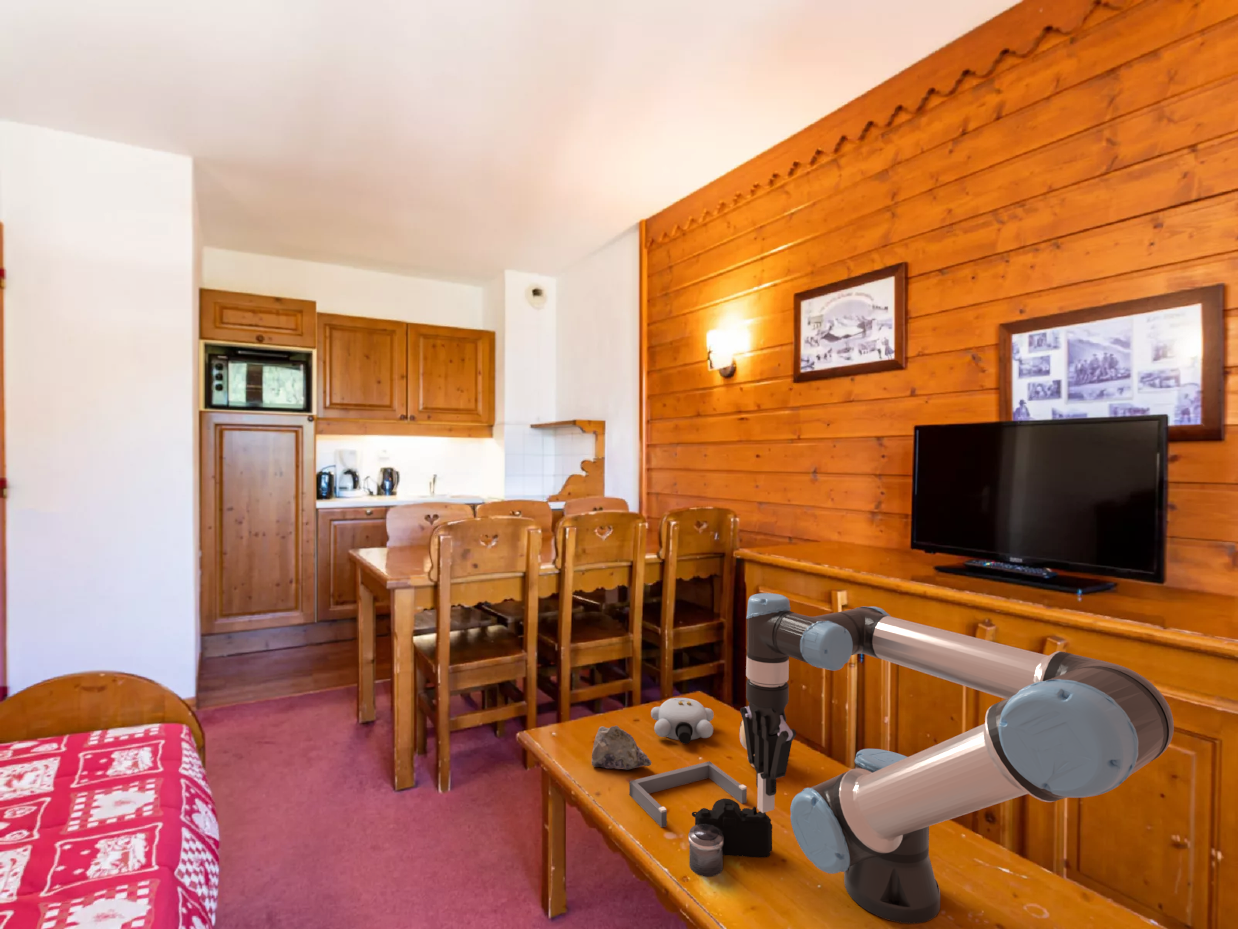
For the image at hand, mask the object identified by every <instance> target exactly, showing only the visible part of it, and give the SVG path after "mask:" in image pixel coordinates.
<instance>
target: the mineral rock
mask: <svg viewBox="0 0 1238 929" xmlns="http://www.w3.org/2000/svg"><path fill="white" fill-rule="evenodd" d="M594 737H595V738H594V742H593V746H592V747H593V748H592V753H591V766H593V767H595V768H596V767H600V768H604V769H615V770H627V771H629V770H632V769H635V768H636V769H638V768H640V767H650V766H651V765H652V763H653V762H652V760H650V758H649V757H648V755H647V754H646V753H645V752H643V750H642V749H641V748H640V747H639V746H638V745H637V742H636V740H635V739H634V737H633V736H632V735H631V734H629V733H628V732H627V731H625V730H624V729H622V728H620V727H619V726H618V725H614V726H612V725H611V726H610V727H606V726H599V727H598V730H597V732H596V735H595V736H594Z"/></svg>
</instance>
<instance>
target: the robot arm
mask: <svg viewBox="0 0 1238 929" xmlns="http://www.w3.org/2000/svg"><path fill="white" fill-rule="evenodd" d="M745 618H746V662H745V663H746V666H745V668H746V669H745V676H746V677H747V678H746V679H747V680H746V684H745V686H746V689H745V690H746V691H745V693H746V694H745V698H746V700H747V702H748V705H747V706H744V707H740V709H739V712H740V716H741V718H742V719H741V720H743V723H744V730H745V738H746V746H747V749H746V752H747V761H748V763H749V764H750V765H751V764H753V765H754V767H753V768H754V771H755V772H756V776H755V777H756V781H755V784H756V788H757V798H756V799H757V801H756V802H757V807H756V809H757V811H758V812H759V811H761V812H762V813H764V812H765V813H767V812H771V811H774V810H775V800H776V799H775V798H776V797H775V795H776V793H777V779H780V778H783V777H785V776H786V773H787V768H788V762H789V758H790V754H791V748H792V744H793V741H794V739H795V738H796V736H797V731H796V730H795V729H794V728H790V726H789V725H788V724H787V723H786V722H787V715H786V713H785V708H786V707H787V705H788V703H789V700H790V699H789V695H790V694H789V692H790V691H789V690H790V689H789V688H790V686H789V683H788V681H789V671H790V669H789V668H790V667H789V664H790V661H789V660H790V658H793V659H795V660H799V662H803V663H805V664H809V665H811V666H812V667H816V668H817V669H824V670H827V671H828V670H829V671H839V670H841V669H842V668H844V666H845V664H847V663H848V662H849V661H850V659H851V657H852V656H853V655H858V654H859V655H860V654H862V655H866V656H869V657H873V658H874V659H880V660H883V661H886V662H889V663H892V664H895V665H899V666H902V667H905V668H907V669H910V670H911V669H912V670H914V671H916V672H917V671H918V672H921V673H923V674H927V675H929V676H933V677H936V678H939V679H942V680H946V681H949V682H951V683H955V684H958V685H961V686H964V687H968V688H970V689H974V690H975V691H976V690H977V691H980V692H983V693H985V694H989V695H991V696H995V697H998V698H1002V700H1001V701H998V702H997V703H994V704H992V705H991V706H989V708H988V709H987V710H986V713H985V717H984V721H985V722H984V723H983V724H981V725H978V726H976V727H973V728H972V729H971V728H970V729H969V730H968V731H965V732H962V733H960V734H958V735H956V736H953V737H950V738H949V739H946V740H944V741H941V742H940V743H938V744H934V745H933V746H930V747H928V748H926V749H924V750H923V749H922V750H921V751H919V752H917V753H914V754H912V755H910V756H906V755H904V754H901V753H897V752H893V751H889V750H886V749H880V748H863V749H860V750H859V751H857V752H856V754H855V758H854V763H855V768H851V769H850V770H848V771H845V772H843V773H841V774H839V775H837V776H835V777H832V778H830V779H828V780H826V781H823V782H821V783H819V784H817V785H813V786H811V787H805V788H803V789H802V791H800V792H798V793H797V794H795V796H794V797H793V799H792V801H791V805H790V808H789V809H790V810H789V811H790V824H791V827H792V832H793V834H794V837H795V839H796V842H797V844H798V846H799V847H800V849H801V851H802V852H803V853H804V854H803V855H805V857H806V858H807V860H809V861H810V862H811V863H812V864H813V865H814V866H815V868H817V869H818V870H820V871H822V872H824V873H827V874H830V875H831V874H833V875H834V874H838V873H840V872H842V873H844V876H843V877H844V878H843V880H844V881H843V883H844V886H845V890H846V892H847V894H848V895H849V896H850V898H852V900H853V901H854V902H855V903H856V904H858V905H859V906H860V907H861V908H862V909H864V910H866V911H867V912H869V913H871V914H873V915H875V916H877V917H879V918H882V919H884V920H888V921H891V922H895V923H900V924H901V923H902V924H920V923H926V922H928V921H931V920H932V919H934V918H935V917H936V916H938V913H939V912H940V909H941V889H940V887H939V886H940V885H939V883H938V882H937V880H936V877H935V873H934V869H933V865H932V862H931V859H930V849H929V847H930V826H933V825H937V824H940V823H943V822H945V821H949V820H952V819H956V818H958V817H961V816H964V815H968V814H971V813H973V812H976V811H980V810H982V809H985V808H989V807H991V806H994V805H997V804H1000V803H1004V802H1006V801H1009V800H1010V801H1011V800H1013V799H1015V798H1016V799H1017V798H1019V797H1022V796H1025V795H1030V796H1031V797H1032V798H1035V799H1036V800H1039V801H1041V802H1046V803H1052V802H1057V801H1060V800H1063V799H1067V798H1072V799H1073V798H1074V799H1075V798H1076V799H1077V798H1078V799H1079V798H1080V799H1081V798H1088V797H1095V796H1099V795H1103V794H1105V793H1108V792H1110V791H1112V790H1114V789H1116V788H1118V787H1119V786H1120V785H1121V784H1122V783H1124V781H1126V780H1127V779H1128V778H1129V777H1130V776H1132V774H1134V773H1136V772H1138V771H1139V770H1140V769H1142V768H1143V767H1144V766H1147V765H1148V764H1149V763H1151V762H1153V761H1154V760H1156V759H1158V758H1159V757H1160V756H1162V755H1163V753H1165V751H1167V749H1168V748H1169V746H1170V744H1171V742H1172V740H1173V736H1174V731H1175V730H1174V729H1175V728H1174V726H1175V725H1174V718H1173V717H1174V716H1173V713H1172V709H1171V706H1170V705H1169V703H1168V702H1167V700H1166V699H1165V697H1164V695H1163V694H1162V692H1161V691H1160V690H1159V689H1158V688H1157V687H1156V686H1155V685H1154V684H1153V683H1152V682H1151V681H1150V680H1149V679H1147V678H1146V677H1144V676H1143V675H1141V674H1139V673H1138V672H1136V671H1134V670H1132V669H1131V668H1128V667H1125V666H1123V665H1119V664H1118V663H1112V662H1109V661H1104V660H1101V659H1096V658H1091V657H1087V656H1082V655H1079V654H1073V653H1070V652H1067V651H1061V650H1057V651H1055V652H1053V653H1051V654H1049V655H1047V654H1043V653H1040V652H1039V653H1038V652H1035V651H1031V650H1027V649H1022V648H1018V647H1015V646H1010V645H1007V644H1002V643H998V642H995V641H991V640H986V639H983V638H979V637H974V636H970V635H967V634H962V633H958V632H954V631H950V630H946V629H942V628H938V627H934V626H930V625H926V624H921V623H918V622H913V621H910V620H905V619H902V618H897V617H894V616H891V614H889V613H888V612H886V611H885V610H884V609H883V608H881V607H878V606H860V607H855V608H853V609H852V608H851V609H847V610H843V611H836V612H831V613H826V614H822V615H816V616H811V615H810V616H808V615H804V614H800V613H797V612H794V611H791V605H790V599H789V598H788V596H787V597H786V596H785V595H783V594H779V593H768V592H765V593H763V592H761V593H756V594H752V595H750V596H749V598H748V600H747V611H746V617H745ZM754 754H755V756H754Z"/></svg>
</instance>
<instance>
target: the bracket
mask: <svg viewBox="0 0 1238 929" xmlns="http://www.w3.org/2000/svg"><path fill="white" fill-rule="evenodd" d="M706 779H710V780H711V781H712V782H713V783H715V784H716V785H717V786H718V787H720V788H721V789H722V790H724V791H725V792H727V793H728V794H729V795H730V796H732V798H734V799H735V800H736V801H738V802H739V803H740V804H741V805H742V804H747V801H748V800H747V797H748V795H747V793H748V792H747V790H748V789H747V786H746V785H745V784H741V783H740V782H738V781H737V780H736V779H734V778H733V777H732V776H730V775H728V774H727V773H726V772H725V771H723V770H722V769H721V768H720V767H718V766H717V765H715V764H714V763H712V762H711V761H704V762H702V763H697V764H692V765H689V766H685V767H682V768H677V769H673V770H670V771H669V770H668V771H665V772H661V773H657V774H653V775H650V776H649V775H648V776H645V777H640V778H637V779H632V780H629V782H628V783H629V788H628V789H629V796H630V797H631V798H632V799H633V800H634V801H635V803H637V804H638V805H639V806H640V808H642V809H643V810H644V811H645V812H646V813H647V815H648V816H650V818H652V820H653V821H654V822H655V824H657V825H658V826H659V827H660V828H665V827H667V826H668V824H667V811H668V810H667V808H666V807H665V806H662V805H661V804H660V803H658V801H656V799H655V798H653V797H652V795H651V794H653V793H657V792H660V791H664V790H668V789H672V788H676V787H680V786H682V785H687V784H691V783H695V782H699V781H702V780H706Z"/></svg>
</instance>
